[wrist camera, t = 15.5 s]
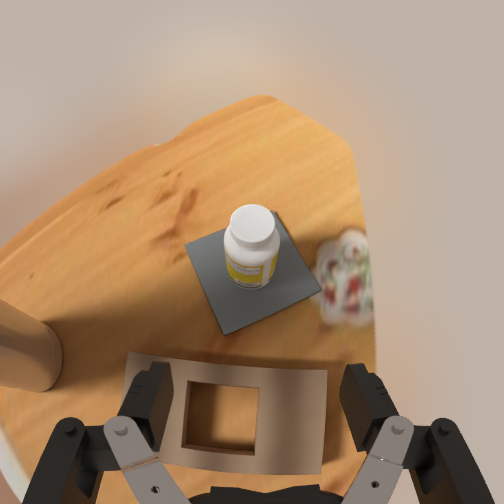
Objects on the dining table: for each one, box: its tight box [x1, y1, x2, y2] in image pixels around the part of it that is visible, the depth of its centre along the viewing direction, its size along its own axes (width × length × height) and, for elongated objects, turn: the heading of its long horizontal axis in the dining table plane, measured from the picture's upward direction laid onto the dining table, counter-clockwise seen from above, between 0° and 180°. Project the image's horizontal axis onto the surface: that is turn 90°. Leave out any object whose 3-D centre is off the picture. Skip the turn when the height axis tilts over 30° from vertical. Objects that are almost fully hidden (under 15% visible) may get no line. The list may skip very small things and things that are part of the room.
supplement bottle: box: [224, 204, 280, 290], centre depth 31 cm, size 5×5×10 cm
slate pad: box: [185, 210, 321, 336], centre depth 35 cm, size 12×12×1 cm
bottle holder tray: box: [121, 351, 328, 475], centre depth 26 cm, size 20×11×3 cm, turn 86°
